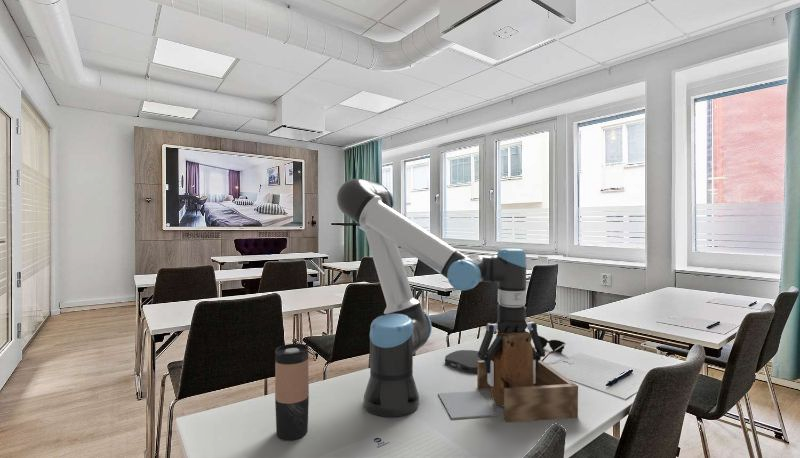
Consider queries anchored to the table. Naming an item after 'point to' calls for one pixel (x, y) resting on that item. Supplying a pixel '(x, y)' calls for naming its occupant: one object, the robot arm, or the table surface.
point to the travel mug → (291, 391)
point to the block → (512, 364)
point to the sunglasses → (552, 345)
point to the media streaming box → (463, 360)
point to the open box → (537, 396)
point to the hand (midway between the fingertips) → (511, 383)
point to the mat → (466, 405)
